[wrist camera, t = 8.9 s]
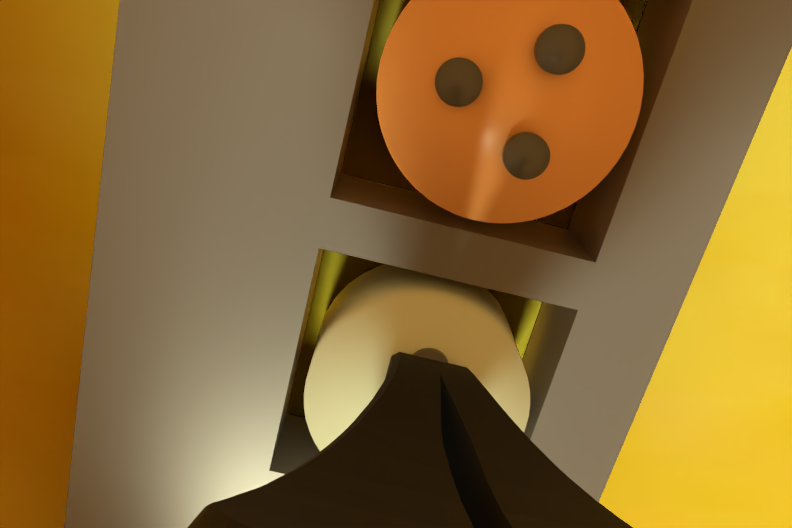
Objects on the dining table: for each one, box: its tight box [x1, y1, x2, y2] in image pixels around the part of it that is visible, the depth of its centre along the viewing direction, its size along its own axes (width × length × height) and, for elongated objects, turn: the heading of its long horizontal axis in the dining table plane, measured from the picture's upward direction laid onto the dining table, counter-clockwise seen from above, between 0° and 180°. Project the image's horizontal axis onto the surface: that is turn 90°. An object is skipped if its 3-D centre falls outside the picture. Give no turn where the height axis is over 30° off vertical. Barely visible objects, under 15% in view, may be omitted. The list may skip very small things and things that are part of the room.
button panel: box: [64, 0, 792, 528], centre depth 13 cm, size 18×10×2 cm, turn 166°
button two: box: [304, 264, 530, 451], centre depth 13 cm, size 4×4×2 cm
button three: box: [376, 0, 644, 223], centre depth 11 cm, size 4×4×2 cm
